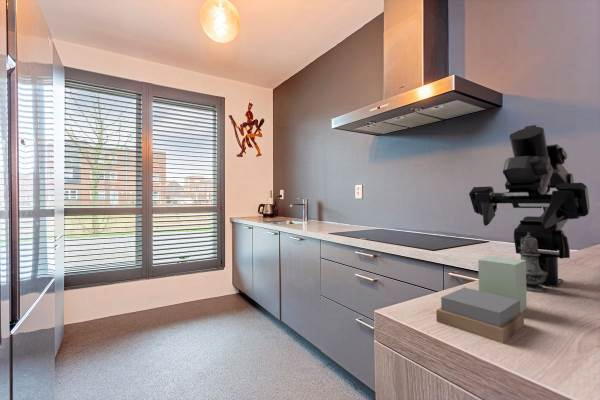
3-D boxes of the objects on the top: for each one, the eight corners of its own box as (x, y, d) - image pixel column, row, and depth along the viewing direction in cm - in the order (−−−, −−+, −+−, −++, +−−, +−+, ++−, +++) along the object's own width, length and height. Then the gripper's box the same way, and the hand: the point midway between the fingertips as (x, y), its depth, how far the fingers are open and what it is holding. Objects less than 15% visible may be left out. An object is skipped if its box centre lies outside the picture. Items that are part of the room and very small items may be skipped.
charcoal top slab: (464, 298, 50) (464, 287, 50) (520, 313, 44) (519, 300, 44) (441, 309, 45) (441, 297, 45) (499, 327, 39) (499, 312, 39)
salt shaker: (554, 293, 58) (552, 233, 58) (520, 291, 59) (518, 233, 60) (539, 285, 63) (538, 230, 63) (508, 283, 65) (507, 230, 65)
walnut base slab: (461, 311, 51) (461, 297, 51) (523, 329, 44) (523, 312, 44) (436, 325, 45) (436, 309, 45) (503, 348, 38) (503, 329, 38)
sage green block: (490, 300, 54) (490, 255, 55) (526, 308, 50) (525, 260, 50) (479, 307, 51) (478, 259, 51) (516, 316, 47) (515, 264, 47)
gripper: (475, 154, 67) (449, 191, 59) (587, 140, 52) (574, 187, 44) (486, 193, 70) (463, 233, 63) (594, 191, 56) (582, 243, 48)
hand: (512, 225), depth 54 cm, fingers open, 9 cm apart
